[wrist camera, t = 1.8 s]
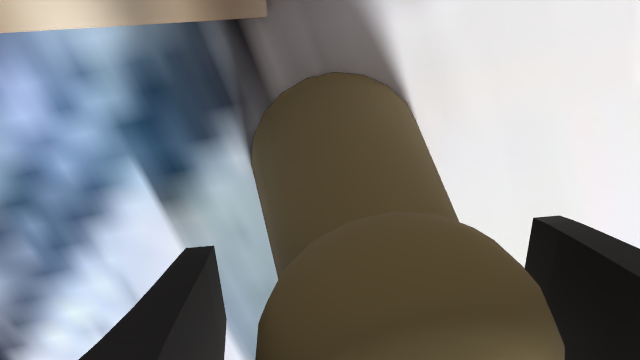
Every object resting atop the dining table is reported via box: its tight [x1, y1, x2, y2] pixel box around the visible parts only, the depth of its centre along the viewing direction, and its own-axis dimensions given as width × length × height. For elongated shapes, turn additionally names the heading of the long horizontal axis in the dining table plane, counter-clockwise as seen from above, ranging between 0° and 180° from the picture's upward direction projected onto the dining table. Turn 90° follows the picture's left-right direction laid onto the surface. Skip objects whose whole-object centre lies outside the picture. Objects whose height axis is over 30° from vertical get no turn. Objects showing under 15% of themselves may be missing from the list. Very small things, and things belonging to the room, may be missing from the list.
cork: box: [251, 72, 565, 360], centre depth 12 cm, size 6×6×11 cm
